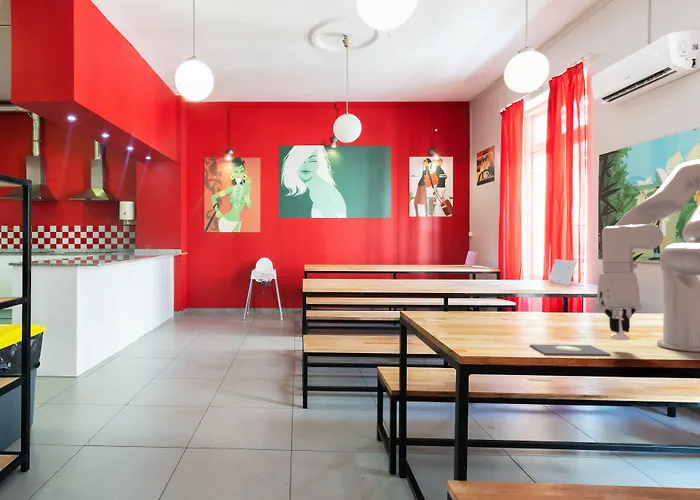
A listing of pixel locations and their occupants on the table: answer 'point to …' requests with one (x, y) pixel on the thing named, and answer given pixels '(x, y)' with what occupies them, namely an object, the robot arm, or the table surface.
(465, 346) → the table surface
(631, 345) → the table surface
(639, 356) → the table surface
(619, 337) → the chess piece
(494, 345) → the table surface
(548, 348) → the mat
